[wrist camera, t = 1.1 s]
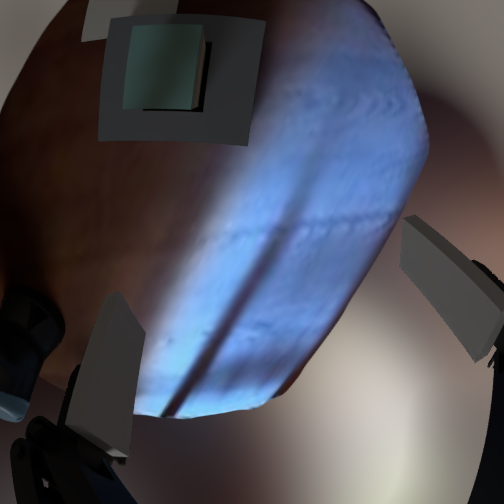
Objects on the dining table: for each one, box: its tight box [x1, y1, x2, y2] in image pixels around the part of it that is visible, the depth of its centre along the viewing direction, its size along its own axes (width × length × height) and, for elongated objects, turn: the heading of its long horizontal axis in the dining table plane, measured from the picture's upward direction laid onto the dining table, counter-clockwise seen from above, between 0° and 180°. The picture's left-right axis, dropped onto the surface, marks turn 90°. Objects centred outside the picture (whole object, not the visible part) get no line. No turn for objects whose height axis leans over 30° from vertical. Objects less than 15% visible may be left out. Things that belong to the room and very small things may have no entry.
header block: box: [98, 14, 266, 146], centre depth 26 cm, size 16×14×6 cm
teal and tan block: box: [123, 24, 207, 110], centre depth 22 cm, size 5×6×15 cm
